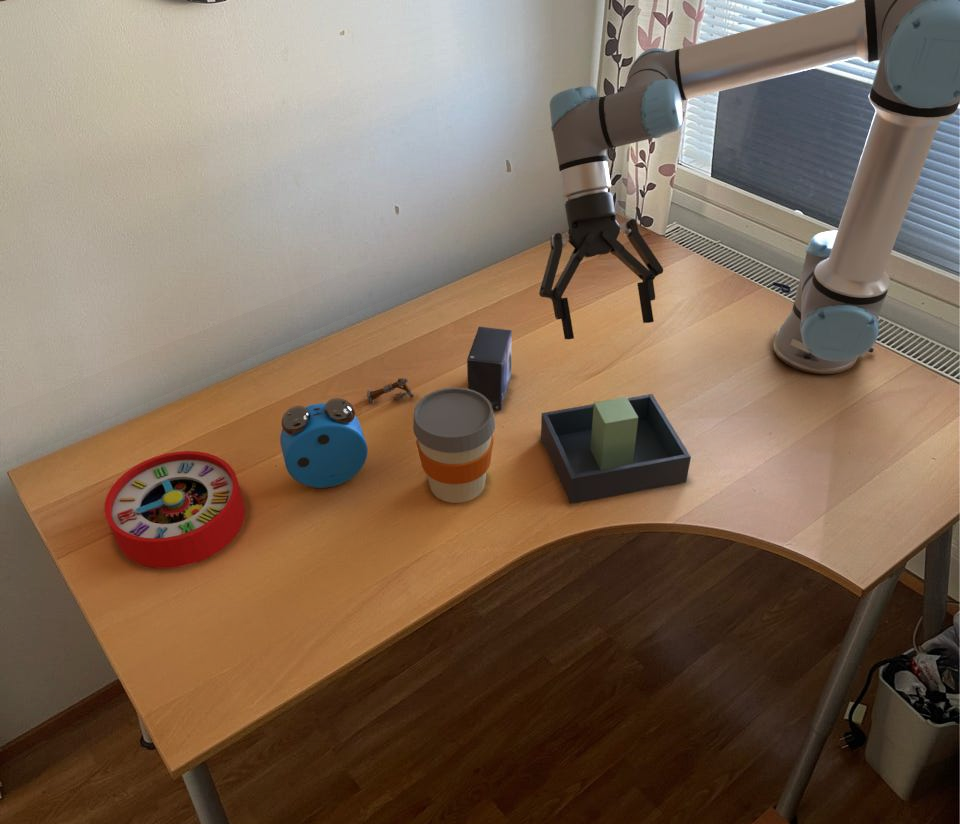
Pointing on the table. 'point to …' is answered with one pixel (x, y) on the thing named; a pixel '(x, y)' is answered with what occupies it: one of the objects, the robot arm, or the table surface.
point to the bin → (582, 479)
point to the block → (613, 433)
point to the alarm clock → (323, 443)
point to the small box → (490, 364)
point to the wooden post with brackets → (388, 388)
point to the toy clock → (175, 509)
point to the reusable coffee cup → (455, 441)
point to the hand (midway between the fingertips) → (609, 330)
